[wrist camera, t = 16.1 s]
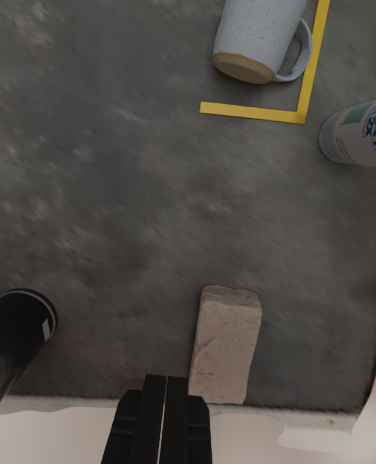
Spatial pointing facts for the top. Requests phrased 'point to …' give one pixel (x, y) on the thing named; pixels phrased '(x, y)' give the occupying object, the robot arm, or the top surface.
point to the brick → (224, 344)
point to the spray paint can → (351, 135)
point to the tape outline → (305, 87)
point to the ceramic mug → (260, 39)
